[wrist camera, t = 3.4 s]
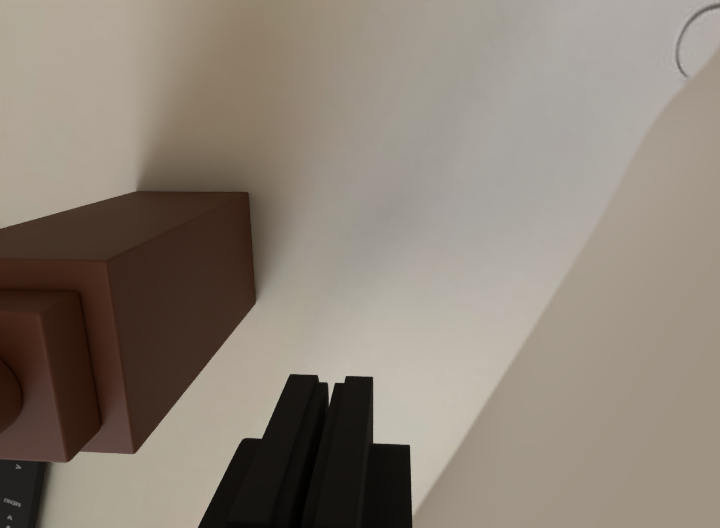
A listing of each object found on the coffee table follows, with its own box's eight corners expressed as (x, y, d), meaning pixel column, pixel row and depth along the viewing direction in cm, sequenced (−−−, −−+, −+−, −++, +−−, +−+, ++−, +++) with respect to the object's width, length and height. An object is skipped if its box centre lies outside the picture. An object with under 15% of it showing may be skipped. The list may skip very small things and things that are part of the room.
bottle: (248, 192, 24) (-186, 400, 6) (256, 303, 26) (-78, 721, 8) (134, 191, 25) (-566, 383, 7) (148, 301, 26) (-394, 690, 8)
